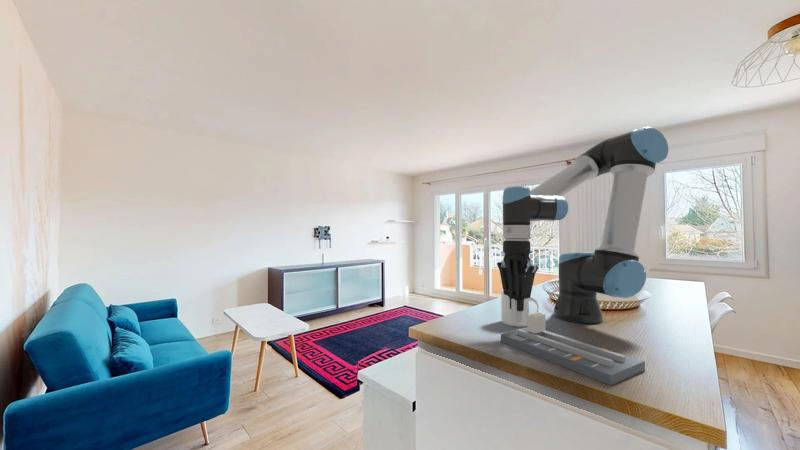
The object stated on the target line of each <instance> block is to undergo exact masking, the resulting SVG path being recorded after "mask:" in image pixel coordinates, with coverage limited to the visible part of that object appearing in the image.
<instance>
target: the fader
mask: <svg viewBox="0 0 800 450" xmlns="http://www.w3.org/2000/svg"><path fill="white" fill-rule="evenodd" d="M526 328H527V331H529V332H530V333H533V334H536V335H539V336H542V332H543V331H545V330H546V313H545V314H544V313H541V312H538V313H535V312H533V313H529V314H527V326H526Z"/></svg>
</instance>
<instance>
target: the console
mask: <svg viewBox="0 0 800 450" xmlns="http://www.w3.org/2000/svg"><path fill="white" fill-rule="evenodd" d="M500 342H501V343H504V344H506V345H509V346H512V347H513V348H517V349H519V350H521V351H524V352H527V353H529V354H531V355H533V356H536V357H539V358H542V359H544V360H546V361H548V362H552V363H554V364H556V365H559V366H561V367H564V368H566V369H568V370H571V371H574V372H575V373H578V374H581V375H584V376H587V377H588V378H591V379H594V380H596V381H599V382H601V383H603V384H606V385H608V386H613V385H615V384H618V383H620V382H622V381H624V380H627V379H628V378H631V377H634V376H635V375H638V374H640V373H642V372H645V371H646V363H645V362H646V361H645V360H642V359H640V358H637V357H632V356H630V355H627V354H624V353H623V354H622V353H620V352H616V351H614V350H609V349H607V348H604V347H601V346H597V345H594V344H591V343H588V342H584V341H581V340H577V339H574V338H571V337H568V336H565V335H562V334H558V333H556V332H552V331H549V330H546V329H545V331H543V332H542V336H539V335H536V334H533V333H530V332H529V331H527V327H526V328H522V329H520V328H518V329H516V330H514V331H508V332H504V333H500Z"/></svg>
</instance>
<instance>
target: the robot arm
mask: <svg viewBox="0 0 800 450" xmlns="http://www.w3.org/2000/svg"><path fill="white" fill-rule="evenodd" d="M668 154H669V144H668V141H667V139H666V137H665V136H664V134H663V132H661V131H660V130H659V129H658V128H656V127H652V126H646V127H642V128H641V127H640V128H636V129H633V130H632V131H629V132H626V133H624V134H623V133H622V134H619V135H616V136H614V137H610V138H608V139H604V140H602V141H600V142H599V143H597V144H595V145H594V146H593V147H591V148H589V149H587V150H586V151H584V152H583V153H582V154H580V155H579V156H577V157H576V158H575V159H574V161H573V162H572V163H571V164H570V165H568V166H567V167H565V168H564V169H562V170H560V171H559V172H558V173H556V174H554V175H553V176H551V177H550V178H548V179H546V180H545V181H543V182H542V183H540V184H538V185H537V186H535V187H534V188H532V189H530V187H529V186H525V185H524V186H523V185H521V186H520V185H519V186H518V185H516V186H515V185H514V186H510V187H506V188H504V189H503V193H502V194H503V195H502V203H501V205H502V239H503V241H502V252H503V254H504V256H503V260H502V261H501V260H500V261H498V262H497V263H496V266H497V268H498V270H499V276H500V281H501V287H502V290H503V292H504V295H507V296H509V298H510V309H511V322H514V323H517V322H522V311H523V310H524V299H527V298H530V296H532V295H531V294H532V290H533V285H534V281H535V277H536V273H537V272H538V270H539V266H538V265H535V264H533V263H532V261H531V258H530V253H531V242H530V240H529V239H531V236H532V235H531V222H538V221H539V222H541V221H551V222H552V221H553V222H555V221H561V220H563V219H564V218H566V217H567V215H568V213H569V203H568V200H567V199H566V198H565V197H564V195H567V193H569V192H570V191H572V190H573V189H575V188H578V186H580V185H581V184H583V183H584V182H586V181H587V180H588V181H591V180H594V179H595V178H597V177H599V176H601V175H606V174H608V173H611V174H612V175H613V176H614V177H613V181H612V188H611V192H610V196H609V197H610V198H609V203H608V208H607V213H606V219H605V223H604V229H603V235H602V239H601V245H600V246H598V247H597V248H595V249H594V251H593V252H592V251H589V252H588V251H587V252H586V251H585V252H584V251H583V252H567V253H561V254H560V256H559V257H558V264H557V265H558V297H557V300H556V302H555V305H554V308H553V316H554V317H556V318H557V319H560V320H563V321H566V322H567V321H568V322H573V323H580V324H581V323H582V324H601V323H602V322H604V320H603V319H604V316H603V312H602V308H601V306H600V303H599V301H598V297H597V296H598V295H597V294H601V295H606V296H609V297H613V298H621V299H628V298H632V297H634V296H635V295H637V294H639V293H640V292H641V290H642V289H643V288H644V286H645V283H646V280H647V272H646V271H645V266H644V265H643V264H642V263H641V262H639V259H640V256H639V255H638V254H637V253H636V251H635V247H636V241H637V237H638V232H639V231H638V230H639V226H640V220H641V219H640V218H641V213H642V209H643V208H642V207H643V203H644V202H643V201H644V198H645V197H644V196H645V191H646V187H647V186H646V185H647V179H648V177H650V176H651V175H653V174H654V173H655V171H656V166H657V165H656V164H659V163H661V162H663V161H664V160H665V159H667V158H668ZM507 290H508V291H507Z"/></svg>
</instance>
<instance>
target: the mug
mask: <svg viewBox="0 0 800 450" xmlns="http://www.w3.org/2000/svg"><path fill="white" fill-rule="evenodd" d="M507 291H508V290H507ZM500 292H501V293H500V294H501V296H500V297H501V300H500V301H501V305H500V306H501V309H500V311H501V314H500V316H501V322H502V323H503V324H504V325H506V326H511V327H514V326H515V327H514V328H523V327H527V314H530V302H533V303H534V304H535V305H536V311H535V312H534V313H539V302H538V301H537V299H536V298H535V297H534V296H532V295H531V296H530V298H527V299H524V310H523V311H522V322H517V323H514V322H511V309H510V298H509V296H507V295H504V292H503V289H501V291H500Z"/></svg>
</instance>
